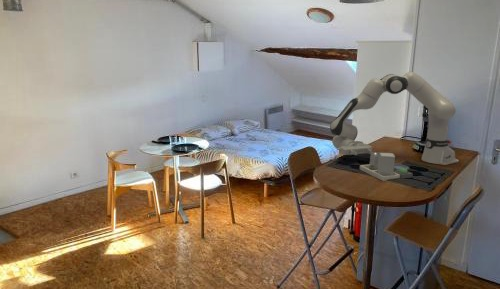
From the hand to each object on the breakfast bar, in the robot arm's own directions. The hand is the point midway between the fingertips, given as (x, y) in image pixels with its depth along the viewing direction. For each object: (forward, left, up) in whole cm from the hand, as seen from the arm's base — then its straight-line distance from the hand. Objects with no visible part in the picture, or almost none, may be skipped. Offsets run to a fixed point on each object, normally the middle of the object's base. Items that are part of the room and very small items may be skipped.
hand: (363, 153), depth 230 cm
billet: (0, +10, -8) cm, 13 cm away
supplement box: (0, +20, -8) cm, 22 cm away
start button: (-9, +24, -7) cm, 26 cm away
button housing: (-9, +24, -8) cm, 27 cm away
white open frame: (0, +15, -8) cm, 17 cm away
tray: (-17, +11, -8) cm, 22 cm away
